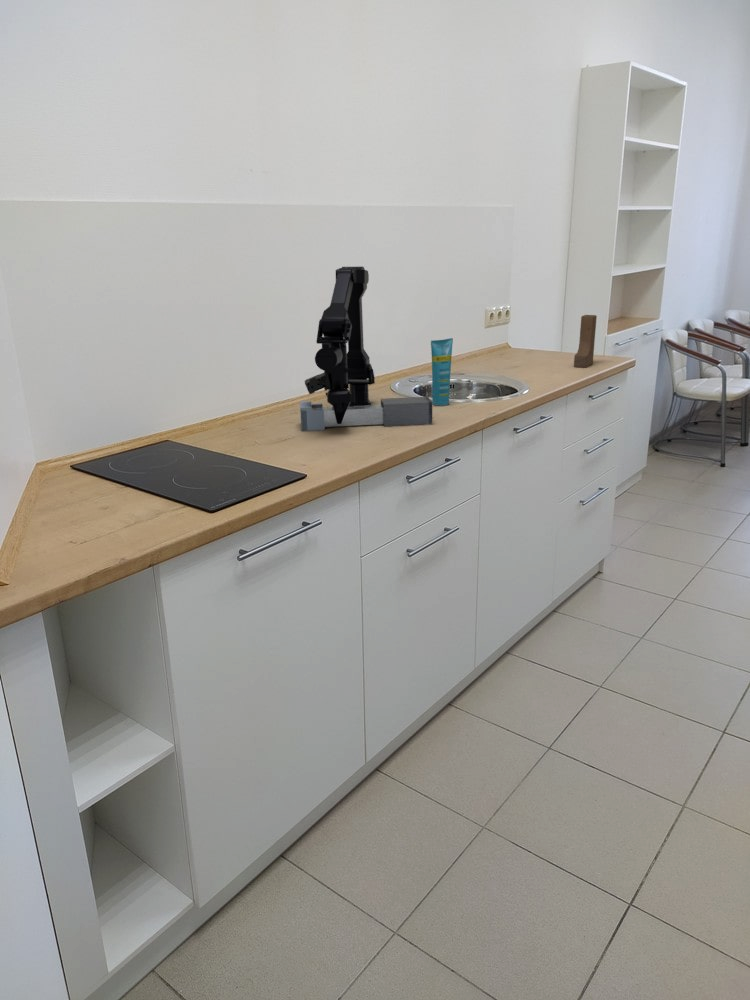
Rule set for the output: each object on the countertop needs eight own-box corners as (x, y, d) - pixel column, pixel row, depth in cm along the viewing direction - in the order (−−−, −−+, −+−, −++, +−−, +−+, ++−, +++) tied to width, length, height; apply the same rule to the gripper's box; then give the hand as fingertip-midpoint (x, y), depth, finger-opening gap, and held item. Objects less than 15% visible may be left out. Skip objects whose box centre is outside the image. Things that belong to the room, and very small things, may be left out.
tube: (436, 407, 215) (436, 341, 209) (426, 404, 219) (426, 339, 212) (455, 403, 219) (456, 338, 212) (445, 401, 223) (446, 336, 216)
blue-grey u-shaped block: (301, 423, 201) (299, 401, 199) (323, 422, 201) (322, 400, 199) (301, 431, 193) (300, 407, 191) (324, 429, 194) (323, 406, 192)
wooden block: (585, 368, 268) (589, 317, 262) (573, 367, 271) (576, 317, 264) (593, 364, 275) (597, 315, 269) (581, 363, 278) (584, 314, 271)
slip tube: (312, 423, 199) (311, 407, 198) (392, 420, 201) (392, 403, 200) (312, 427, 195) (311, 411, 194) (394, 423, 198) (394, 407, 196)
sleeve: (381, 420, 203) (380, 398, 200) (427, 417, 204) (427, 396, 202) (384, 426, 196) (383, 404, 194) (432, 424, 197) (432, 402, 195)
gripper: (304, 359, 200) (307, 415, 206) (306, 371, 183) (309, 432, 188) (345, 357, 201) (347, 413, 207) (350, 369, 184) (353, 430, 189)
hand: (338, 421), depth 198 cm, fingers closed on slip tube, 4 cm apart
